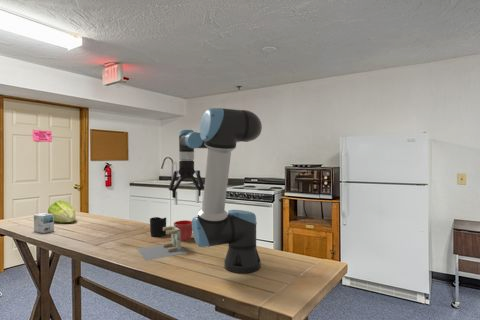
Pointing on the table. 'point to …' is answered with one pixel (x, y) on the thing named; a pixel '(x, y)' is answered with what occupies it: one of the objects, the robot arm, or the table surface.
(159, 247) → the mat
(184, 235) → the flower pot
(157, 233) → the pen holder
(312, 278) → the table surface
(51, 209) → the lettuce
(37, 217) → the light bulb box
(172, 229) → the stool
